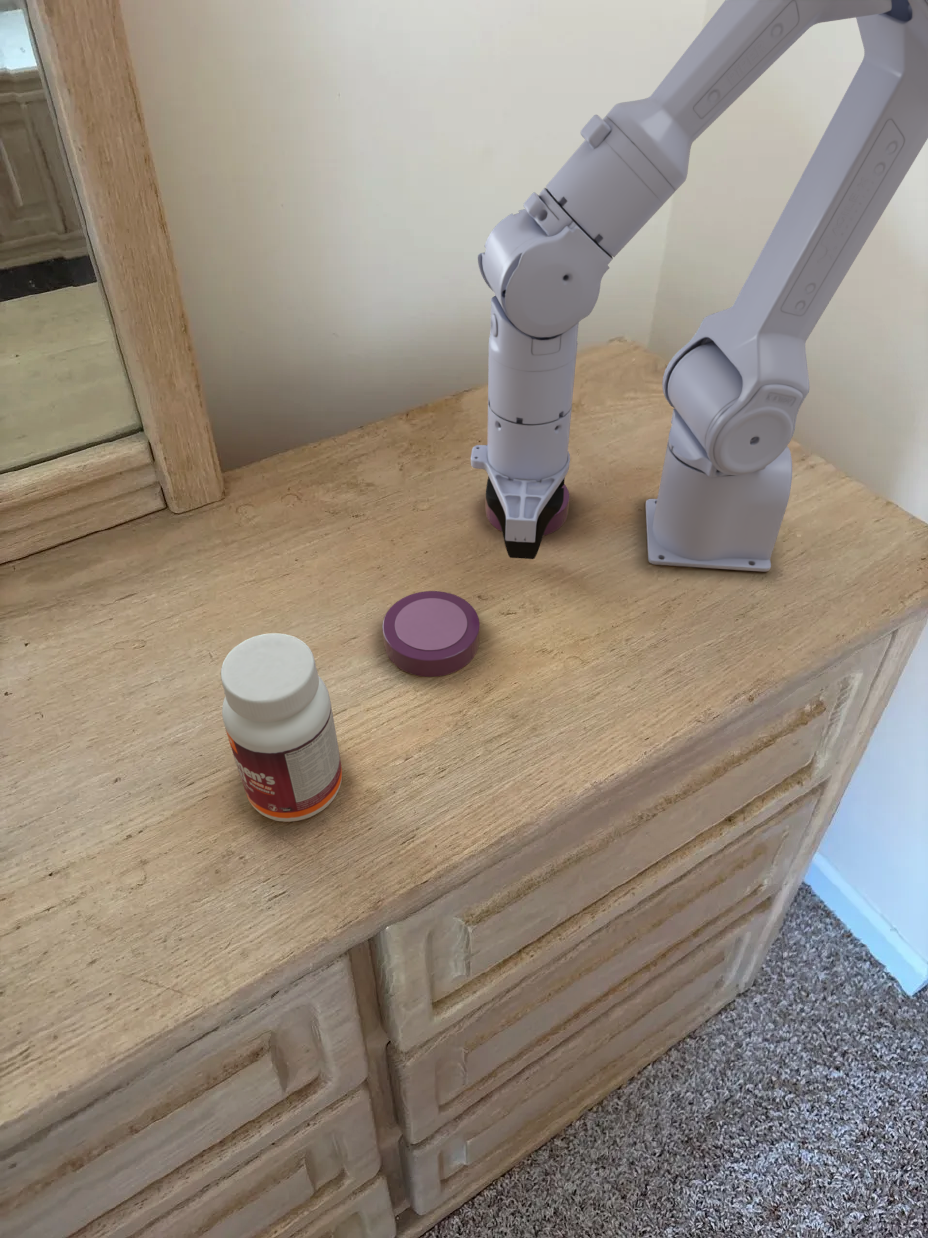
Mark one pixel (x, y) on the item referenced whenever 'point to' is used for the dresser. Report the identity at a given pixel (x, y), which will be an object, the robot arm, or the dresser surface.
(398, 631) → the purple disc
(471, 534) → the dresser surface
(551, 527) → the purple round puck
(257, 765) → the pill bottle
